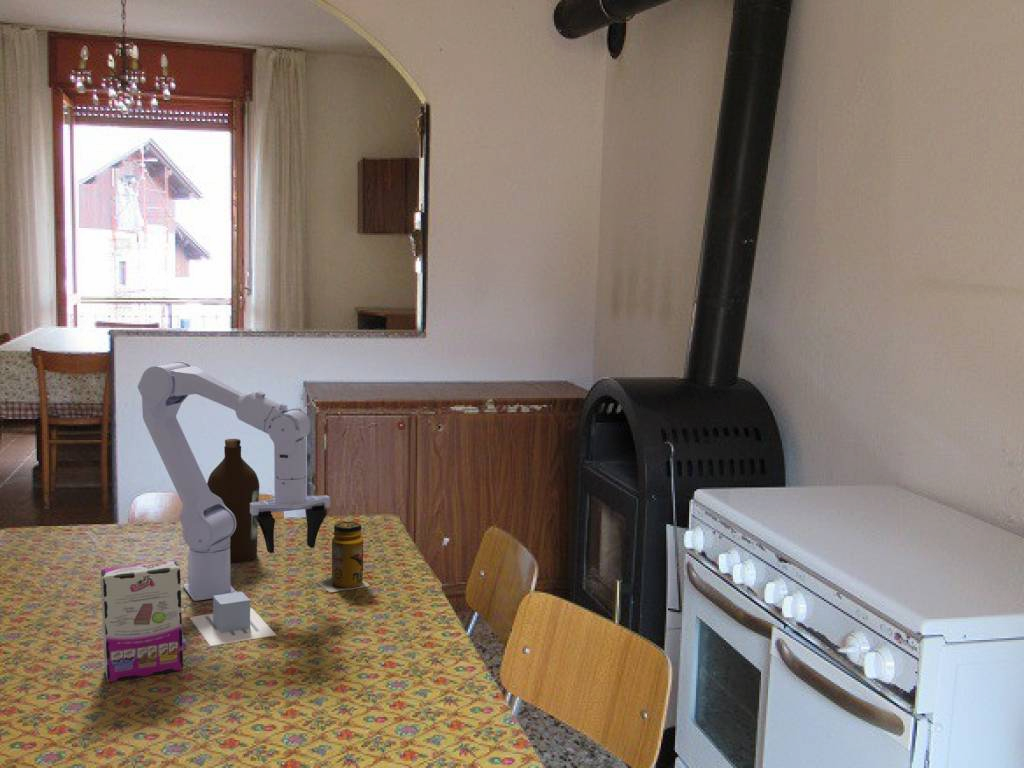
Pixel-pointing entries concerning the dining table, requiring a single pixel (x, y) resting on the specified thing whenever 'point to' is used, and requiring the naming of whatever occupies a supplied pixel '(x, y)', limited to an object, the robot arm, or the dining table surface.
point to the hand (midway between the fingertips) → (290, 549)
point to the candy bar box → (141, 620)
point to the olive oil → (237, 499)
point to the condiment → (346, 559)
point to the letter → (217, 638)
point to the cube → (231, 612)
